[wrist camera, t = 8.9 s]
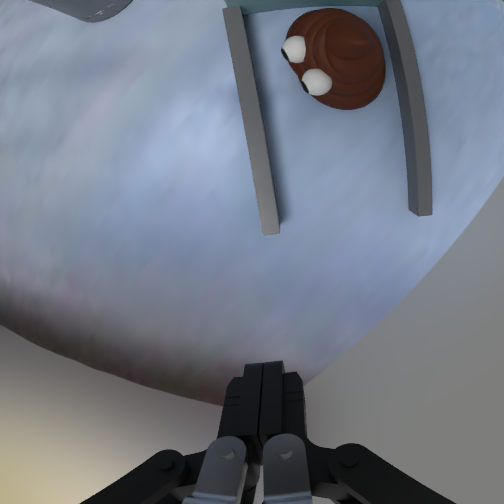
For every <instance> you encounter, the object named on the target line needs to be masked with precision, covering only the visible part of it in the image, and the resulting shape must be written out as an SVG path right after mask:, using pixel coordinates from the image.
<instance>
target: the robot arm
mask: <svg viewBox="0 0 504 504" xmlns="http://www.w3.org/2000/svg"><path fill="white" fill-rule="evenodd" d="M29 1H32V2H35V3H38V4H41V5H44V6H46V7H49V8H52V9H55V10H57V11H60V12H62V13H65V14H67V15H70V16H72V17H75V18H77V19H79V20H82V21H85V22H99V21H102V20H105V19H108V18H110V17H112V16H113V15H115V14H117V13H118V12H120V11H121V10H122V9H124V8H125V7H126V6H127V5H128V4H129V3H130V2H131V1H132V0H29ZM261 465H263V481H264V501H263V502H262V504H312V496H317V497H322V498H329V499H331V500H332V501H333V502H334V503H335V504H456V503H454V502H452V501H451V500H449V499H447V498H445V497H443V496H442V495H440V494H438V493H436V492H435V491H433V490H431V489H430V488H428V487H426V486H425V485H422V484H421V483H419V482H418V481H416V480H415V479H413V478H411V477H410V476H408V475H407V474H405V473H403V472H402V471H400V470H399V469H397V468H395V467H394V466H393V465H391V464H389V463H388V462H386V461H385V460H383V459H382V458H380V457H379V456H377V455H376V454H374V453H373V452H371V451H370V450H368V449H367V448H366V447H364V446H362V445H360V444H354V443H350V444H344V445H341V446H339V447H337V448H336V449H330V448H323V447H319V446H317V445H315V444H313V443H311V442H310V441H309V439H308V438H307V425H306V407H305V397H304V389H303V381H302V379H301V378H300V376H299V375H298V373H297V372H289V373H285V369H284V364H283V361H273V362H265V363H253V364H245V368H244V375H243V377H234V378H233V379H232V380H231V382H230V383H229V385H228V386H227V390H226V395H225V400H224V407H223V411H222V416H221V421H220V426H219V431H218V436H217V439H216V440H214V441H213V442H212V443H211V444H210V445H209V447H208V449H206V450H204V451H202V452H199V453H194V454H190V455H185V456H183V455H182V454H181V453H179V452H178V451H175V450H163V451H160V452H158V453H156V454H155V455H153V456H152V457H151V458H149V459H148V460H146V461H145V462H144V463H142V464H141V465H139V466H138V467H136V468H135V469H133V470H132V471H130V472H129V473H127V474H126V475H124V476H123V477H121V478H120V479H119V480H117V481H115V482H114V483H112V484H111V485H109V486H108V487H106V488H104V489H103V490H101V491H100V492H98V493H96V494H95V495H93V496H91V497H90V498H88V499H86V500H85V501H83V502H81V503H80V504H257V498H258V493H259V487H260V466H261Z"/></svg>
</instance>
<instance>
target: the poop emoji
mask: <svg viewBox="0 0 504 504" xmlns="http://www.w3.org/2000/svg"><path fill="white" fill-rule="evenodd" d="M281 52H282V54H283V56H284V58H285V59H286V60H287V61H288V62H289V64H290V66H291V68H292V69H293V70H294V72H295V73H296V74H297V75H298V78H299V80H300V82H301V85H302V87H303V89H304V90H305V92H306V93H309V94H310V95H312V96H313V97H314V98H315V99H317V100H318V101H320V102H321V103H323V104H325V105H327V106H330V107H332V108H336V109H341V110H353V109H358V108H361V107H364V106H366V105H368V104H369V103H371V102H372V101H373V100H374V99H375V98H376V97H377V96H378V94H379V93H380V91H381V89H382V86H383V83H384V79H385V60H384V53H383V48H382V45H381V43H380V40H379V38H378V36H377V35H376V33H375V32H374V30H373V29H372V28H371V27H370V26H369V25H368V24H367V23H366V22H365V21H364V20H362V19H361V18H359V17H357V16H356V15H354V14H352V13H350V12H348V11H345V10H342V9H336V8H325V9H320V10H314V11H310V12H307V13H305V14H303V15H301V16H300V17H299V18H297V19H296V20H295V21H294V22H293V24H292V25H291V27H290V28H289V30H288V33H287V36H286V41H285V42H284V43H283V45H282V49H281Z"/></svg>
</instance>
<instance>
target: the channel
mask: <svg viewBox="0 0 504 504" xmlns="http://www.w3.org/2000/svg"><path fill="white" fill-rule="evenodd" d="M225 2H226V4H227V6H228V8H224V9H222V10H223V15H224V20H225V26H226V31H227V36H228V41H229V47H230V52H231V57H232V63H233V68H234V73H235V79H236V84H237V90H238V95H239V100H240V106H241V112H242V117H243V123H244V128H245V134H246V140H247V145H248V151H249V157H250V162H251V168H252V174H253V180H254V185H255V191H256V197H257V203H258V209H259V215H260V221H261V227H262V233H263V236H264V235H271V234H279V233H280V222H279V215H278V208H277V202H276V195H275V189H274V183H273V176H272V170H271V164H270V158H269V152H268V146H267V140H266V134H265V128H264V123H263V117H262V111H261V106H260V100H259V95H258V89H257V84H256V79H255V73H254V68H253V63H252V58H251V52H250V47H249V42H248V37H247V32H246V28H245V23H244V18H243V15H246V14H252V13H258V12H265V11H273V10H281V9H290V8H302V7H318V6H375V7H378V10H379V13H380V16H381V20H382V24H383V27H384V31H385V35H386V39H387V43H388V47H389V51H390V56H391V60H392V65H393V70H394V75H395V80H396V86H397V92H398V98H399V104H400V111H401V118H402V125H403V134H404V143H405V153H406V165H407V180H408V201H409V210H410V211H411V212H413V213H414V214H416V215H417V216H427V215H432V176H431V159H430V146H429V136H428V126H427V118H426V111H425V104H424V97H423V91H422V85H421V80H420V75H419V69H418V65H417V60H416V55H415V51H414V47H413V43H412V39H411V35H410V31H409V27H408V24H407V20H406V17H405V14H404V10H403V7H402V4H401V1H400V0H225Z"/></svg>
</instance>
